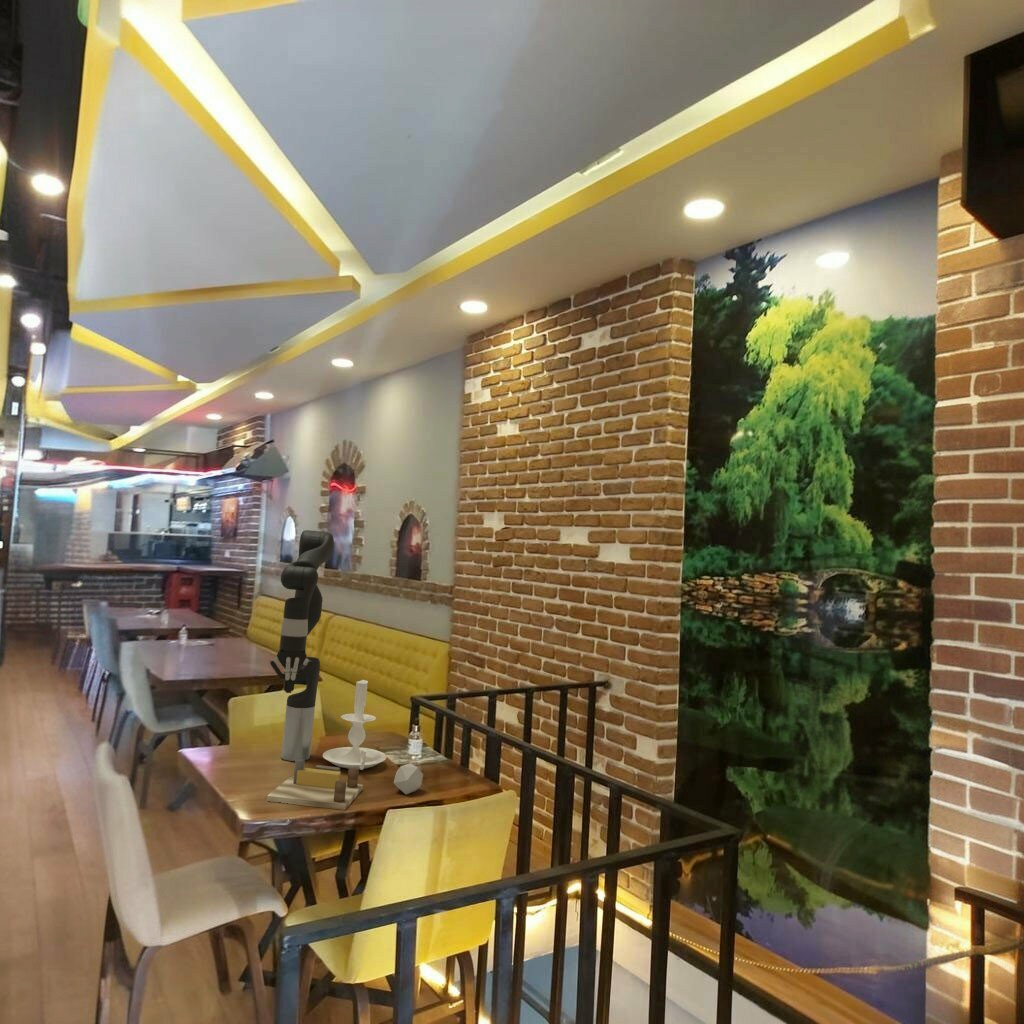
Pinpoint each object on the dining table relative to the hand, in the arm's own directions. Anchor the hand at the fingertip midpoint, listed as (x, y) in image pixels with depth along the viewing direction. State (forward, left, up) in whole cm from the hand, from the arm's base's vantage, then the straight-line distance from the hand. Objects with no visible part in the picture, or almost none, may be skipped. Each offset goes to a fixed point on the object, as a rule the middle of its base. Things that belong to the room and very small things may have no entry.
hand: (288, 692), depth 223 cm
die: (-7, +37, -27) cm, 46 cm away
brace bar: (+1, +11, -25) cm, 28 cm away
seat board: (+5, +13, -27) cm, 30 cm away
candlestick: (-25, +16, -27) cm, 40 cm away
